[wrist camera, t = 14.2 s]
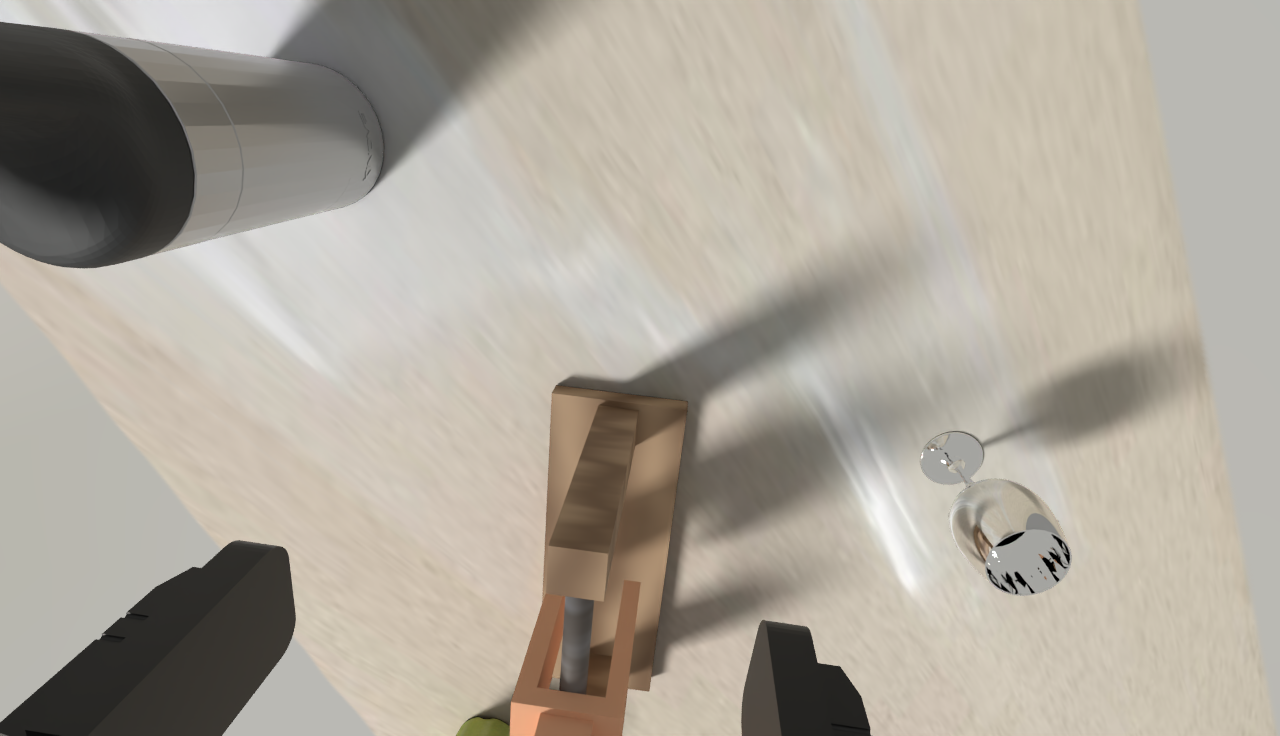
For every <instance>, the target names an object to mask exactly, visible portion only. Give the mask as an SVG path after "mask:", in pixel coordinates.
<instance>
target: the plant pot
mask: <svg viewBox="0 0 1280 736" xmlns="http://www.w3.org/2000/svg"><path fill="white" fill-rule="evenodd" d="M456 736H510V726H508V725H507V724H506V723H504V722H502V721H500V720H498V719H482V718H480V717H476V718H472V719H470V720H468V721H466V722H465V723H464V724H463V725H462V726H461V728H460V730H459V731H458V733H457V735H456Z"/></svg>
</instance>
